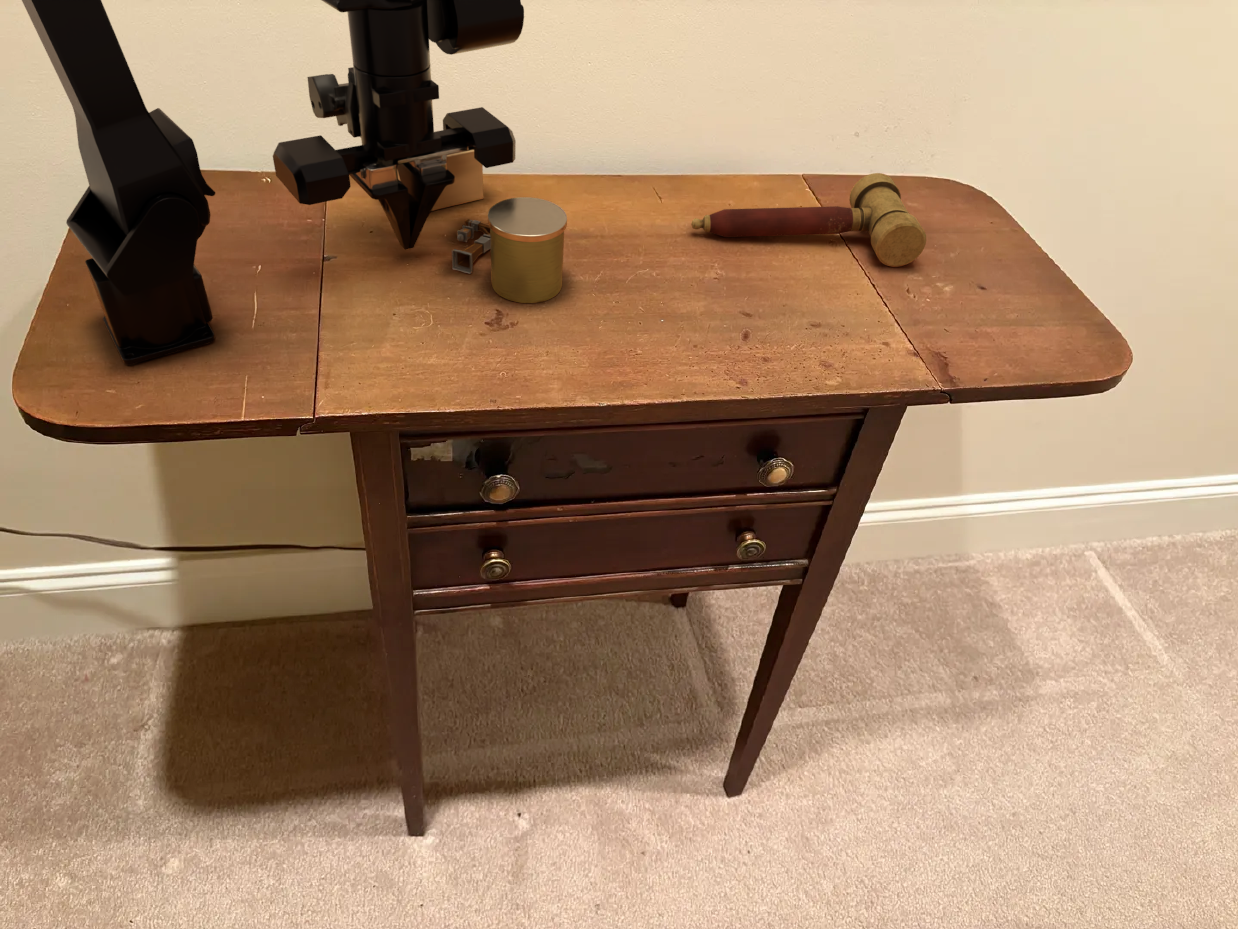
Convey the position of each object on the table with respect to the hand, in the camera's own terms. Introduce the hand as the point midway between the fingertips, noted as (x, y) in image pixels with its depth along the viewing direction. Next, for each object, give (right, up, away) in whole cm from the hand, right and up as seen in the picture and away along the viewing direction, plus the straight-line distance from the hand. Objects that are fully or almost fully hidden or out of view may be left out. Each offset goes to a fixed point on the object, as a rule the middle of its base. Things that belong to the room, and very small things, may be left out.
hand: (406, 246), depth 80 cm
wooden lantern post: (+4, +1, +1) cm, 4 cm away
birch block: (+1, +7, +8) cm, 11 cm away
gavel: (+36, +3, +8) cm, 37 cm away
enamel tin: (+11, -4, -2) cm, 11 cm away
